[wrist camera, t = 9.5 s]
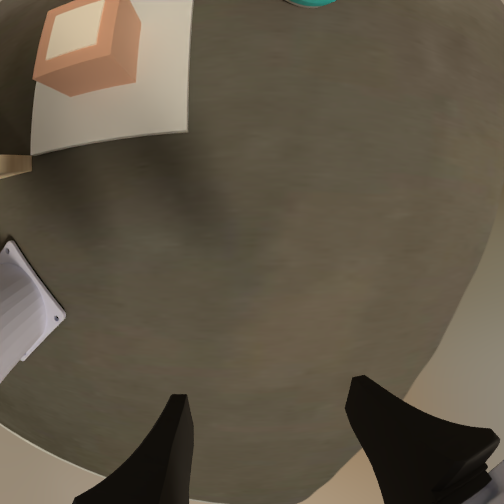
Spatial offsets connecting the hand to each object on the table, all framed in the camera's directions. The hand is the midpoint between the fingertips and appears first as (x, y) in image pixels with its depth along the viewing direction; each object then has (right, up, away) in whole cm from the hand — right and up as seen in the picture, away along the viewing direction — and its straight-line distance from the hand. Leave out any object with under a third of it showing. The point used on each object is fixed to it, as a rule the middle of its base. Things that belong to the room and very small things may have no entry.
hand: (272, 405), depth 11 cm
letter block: (-11, +20, +3) cm, 23 cm away
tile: (-11, +20, +4) cm, 23 cm away
